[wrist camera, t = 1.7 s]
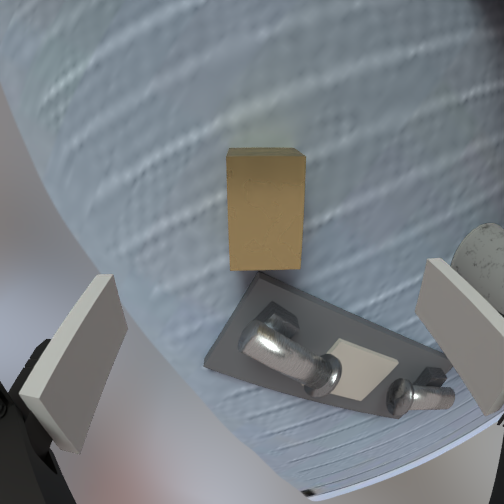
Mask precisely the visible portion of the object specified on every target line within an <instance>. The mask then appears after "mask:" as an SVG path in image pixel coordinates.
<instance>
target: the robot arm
mask: <svg viewBox="0 0 504 504" xmlns="http://www.w3.org/2000/svg"><path fill="white" fill-rule="evenodd" d="M415 313H416V314H417V316H418V317H419V318H420V320H421V321H422V322H423V324H424V325H425V326H426V328H427V329H428V331H429V332H430V333H431V335H432V336H433V338H434V339H435V340H436V342H437V343H438V345H439V346H440V348H441V349H442V350H443V352H444V353H445V355H446V356H447V358H448V359H449V361H450V362H451V364H452V365H453V367H454V368H455V370H456V371H457V373H458V374H459V376H460V377H461V379H462V380H463V382H464V383H465V385H466V386H467V388H468V390H469V391H470V393H471V394H472V396H473V397H474V399H475V401H476V402H477V404H478V406H479V407H480V409H481V410H482V412H483V414H484V415H485V416H487V415H489V414H492V413H494V412H496V411H498V410H500V408H501V407H502V405H503V404H504V315H503V314H502V313H500V312H499V311H497V310H495V309H494V308H493V307H492V306H491V304H489V303H488V302H487V301H486V300H485V299H484V298H483V297H482V296H481V295H480V294H479V293H478V292H477V291H476V290H475V289H474V288H473V287H472V286H471V285H470V284H469V283H468V282H467V281H466V280H465V279H463V278H462V277H461V276H460V275H459V274H458V273H457V272H456V271H455V270H454V269H453V268H451V267H450V266H449V265H448V264H447V263H446V262H445V261H444V260H442V259H441V258H433V259H427V263H426V267H425V272H424V276H423V281H422V285H421V289H420V293H419V297H418V301H417V305H416V309H415ZM127 330H128V327H127V324H126V320H125V317H124V313H123V310H122V306H121V302H120V299H119V295H118V291H117V287H116V283H115V279H114V275H113V274H103V275H96V277H95V278H94V279H93V281H92V282H91V283H90V285H89V286H88V287H87V289H86V290H85V292H84V293H83V294H82V296H81V297H80V299H79V300H78V301H77V303H76V304H75V306H74V307H73V308H72V310H71V311H70V313H69V314H68V316H67V317H66V319H65V320H64V322H63V323H62V324H61V326H60V327H59V329H58V330H57V332H56V334H55V335H54V337H53V338H52V339H46V340H45V341H43V342H42V343H41V344H40V345H39V346H38V347H36V349H35V350H34V352H33V354H32V355H31V357H30V359H29V360H28V361H27V363H26V364H25V368H23V369H22V371H21V372H20V374H19V376H18V377H17V379H16V380H15V382H14V384H13V385H12V387H11V389H10V391H9V392H8V393H7V391H6V390H5V388H4V386H3V385H2V384H1V382H0V504H76V502H75V500H74V498H73V496H72V494H71V492H70V490H69V488H68V486H67V483H66V481H65V479H64V477H63V475H62V473H61V470H60V468H59V465H58V463H57V461H56V458H55V456H54V454H53V452H52V450H51V449H50V445H51V442H52V440H53V441H54V442H55V443H56V445H57V446H58V447H59V448H60V449H61V450H64V451H68V452H72V453H77V454H81V450H82V448H83V444H84V441H85V438H86V436H87V433H88V430H89V427H90V424H91V421H92V419H93V416H94V413H95V410H96V408H97V405H98V402H99V399H100V397H101V394H102V392H103V389H104V386H105V384H106V381H107V379H108V376H109V374H110V371H111V369H112V366H113V364H114V361H115V359H116V356H117V354H118V351H119V349H120V347H121V344H122V342H123V339H124V337H125V335H126V332H127ZM503 420H504V414H503V415H502V417H501V418H500V419H499V421H498V424H497V425H500V424H501V423H502V421H503ZM503 427H504V425H503ZM489 504H504V437H503V443H502V449H501V454H500V459H499V464H498V469H497V474H496V478H495V482H494V487H493V490H492V495H491V498H490V501H489Z"/></svg>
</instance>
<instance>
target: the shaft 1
mask: <svg viewBox="0 0 504 504" xmlns="http://www.w3.org/2000/svg"><path fill="white" fill-rule="evenodd" d="M299 330H300V327H299V323H298V319H297V316H295V315H294V314H292V313H291V312H289V311H288V310H286V309H285V308H283V307H281V306H280V305H278V304H277V303H275V302H274V301H271V302H270V303H269V304H268V305H267V306H266V307H265V308H264V309H263V310H262V311H261V312H260V313H259V314H258V315H257V316H256V317H255V318H254V319H253V321H252V322H251V323H249V324H248V325H247V327H246V328H245V329H244V330H243V331H242V334H241V336H240V338H239V341H238V351H239V352H241V353H243V354H245V355H247V356H248V357H250V358H252V359H254V360H256V361H258V362H260V363H262V364H264V365H266V366H267V367H269V368H271V369H273V370H275V371H277V372H279V373H281V374H283V375H285V376H287V377H289V378H291V379H293V380H295V381H297V382H300V383H302V384H304V390H305V392H306V393H307V394H308V395H310V396H312V397H314V398H323V397H325V396H327V395H328V394H330V393H331V392H332V391H333V390H334V389H335V387H336V386H337V384H338V382H339V380H340V378H341V374H342V364H341V361H340V360H339V359H338V358H337V357H335V356H334V355H332V354H324V355H321V356H318V355H317V354H315V353H313V352H311V351H310V350H308V349H306V348H304V347H303V346H301V345H299V344H297V343H296V342H294V341H292V340H291V338H292V337H293V336H294V335H295V334H296V333H297V332H298V331H299Z"/></svg>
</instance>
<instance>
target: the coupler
mask: <svg viewBox="0 0 504 504" xmlns="http://www.w3.org/2000/svg"><path fill="white" fill-rule="evenodd" d="M226 165H227V199H228V229H229V254H230V271H242V270H287V269H300V267H301V252H302V235H303V217H304V196H305V169H306V156H305V155H303V154H302V153H300V152H299V151H298V150H296V149H295V148H229V150H228V153H227V156H226Z"/></svg>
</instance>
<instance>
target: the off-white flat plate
mask: <svg viewBox="0 0 504 504" xmlns="http://www.w3.org/2000/svg"><path fill="white" fill-rule="evenodd" d="M326 354H332V355H334V356H335V357H337V358H338V359H339V360H340V361H341V364H342V374H341V378H340V380H339V382H338V384H337V386H336V387H335V389H334V390H333V391H332V392H331V394H335V395H339V396H342V397H346V398H350V399H355V400H359V401H362V400H363V399H364V398H365V397H366V396H367V395H368V394H369V393H370V392H371V391H372V390H373V389H374V388H375V387H376V386H377V385H378V384H379V383H380V382H381V381H382V380H383V379H384V378H385V377H386V376H387V375H388V374H389V373H390V372H391V371H392V370H393V369H394V368H395V367H396V366H397V365H398V364H399V362H398V360H396V359H394V358H391V357H388V356H385V355H383V354H380V353H377V352H374V351H372V350H369V349H366V348H364V347H361V346H358V345H356V344H353V343H351V342H348V341H345V340H343V339H340V338H339V339H338V340H337V341H336V342H335V344H334V345H333V346H332V347H331V348H330V350H329V351H328V352H327V353H326ZM302 386H304V384H302Z"/></svg>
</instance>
